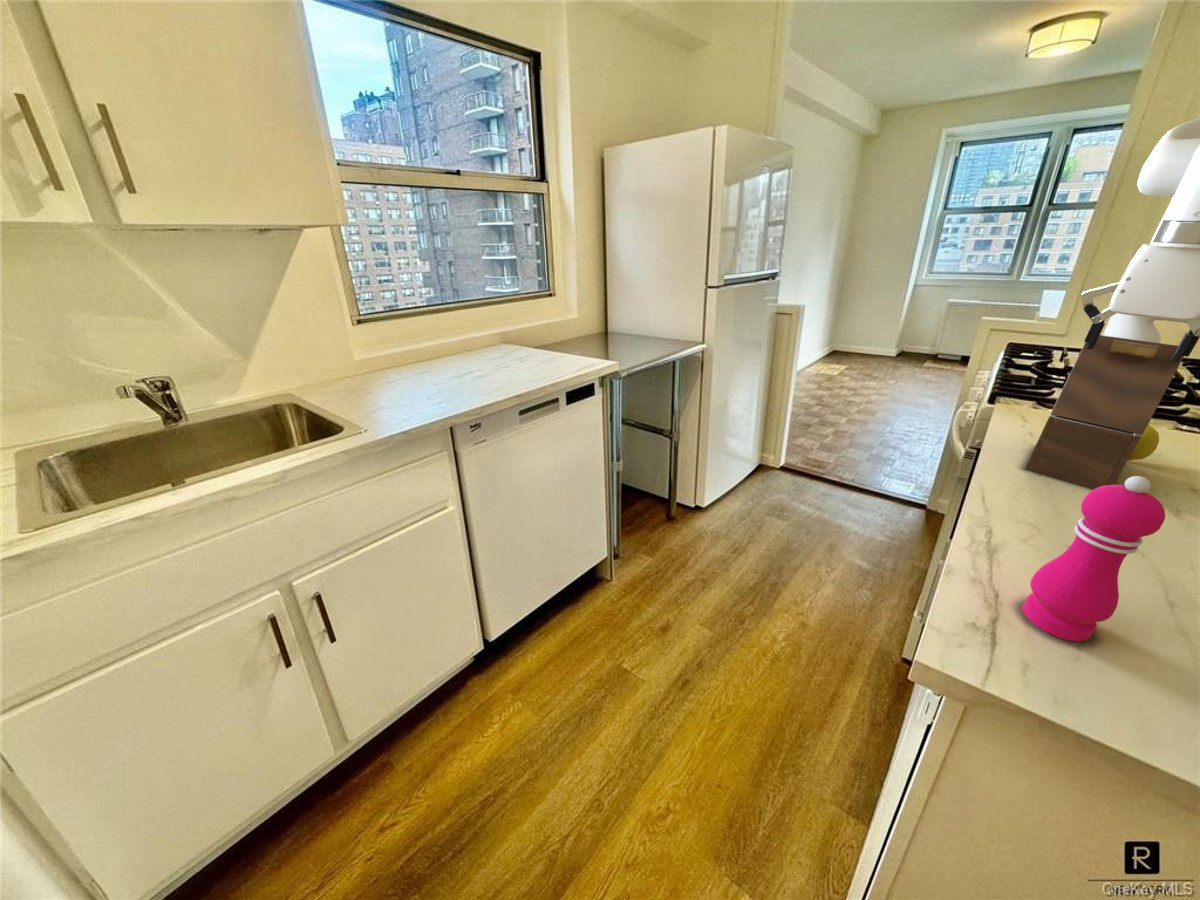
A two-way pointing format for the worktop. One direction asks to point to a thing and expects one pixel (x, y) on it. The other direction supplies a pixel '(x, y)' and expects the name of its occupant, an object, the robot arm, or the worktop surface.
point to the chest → (1081, 452)
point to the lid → (1117, 383)
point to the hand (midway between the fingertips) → (1130, 353)
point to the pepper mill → (1093, 560)
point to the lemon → (1145, 444)
